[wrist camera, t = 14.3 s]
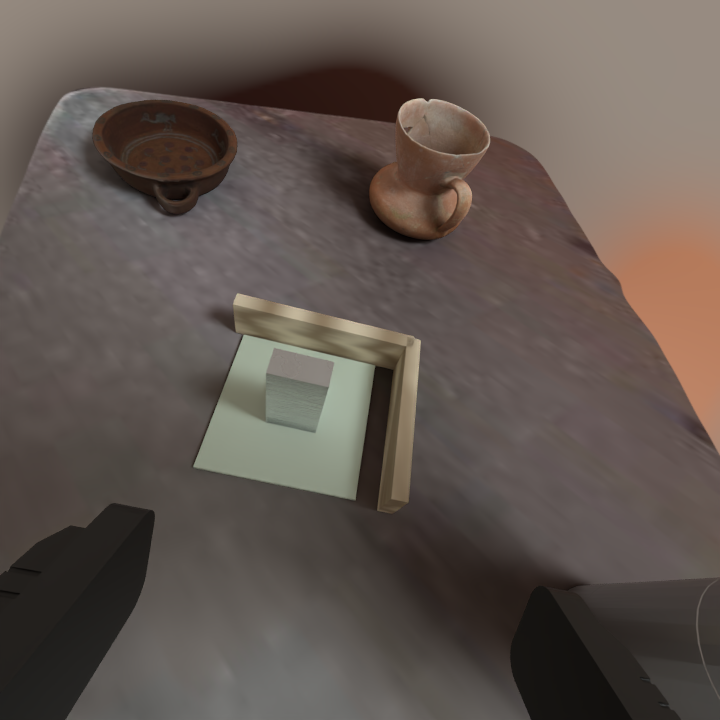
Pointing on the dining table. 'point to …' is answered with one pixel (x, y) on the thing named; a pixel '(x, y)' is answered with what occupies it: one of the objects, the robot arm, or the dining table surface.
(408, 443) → the corner
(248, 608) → the dining table surface
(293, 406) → the rectangular block
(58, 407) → the dining table surface
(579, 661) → the robot arm
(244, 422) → the mat
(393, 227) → the ceramic jug
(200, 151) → the dish
